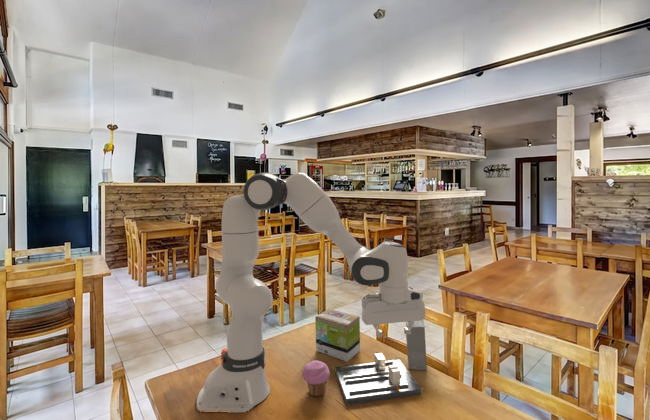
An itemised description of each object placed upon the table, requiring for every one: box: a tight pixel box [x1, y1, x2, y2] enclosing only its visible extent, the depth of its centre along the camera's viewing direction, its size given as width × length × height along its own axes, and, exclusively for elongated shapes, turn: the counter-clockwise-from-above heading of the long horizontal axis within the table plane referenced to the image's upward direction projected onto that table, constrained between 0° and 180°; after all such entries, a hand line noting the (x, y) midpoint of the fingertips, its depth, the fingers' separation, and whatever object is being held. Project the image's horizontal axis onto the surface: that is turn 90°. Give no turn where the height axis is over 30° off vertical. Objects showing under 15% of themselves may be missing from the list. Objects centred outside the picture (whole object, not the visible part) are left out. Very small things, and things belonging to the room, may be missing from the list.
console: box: [334, 352, 422, 406], centre depth 114 cm, size 24×18×7 cm
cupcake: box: [302, 359, 331, 397], centre depth 109 cm, size 9×9×10 cm
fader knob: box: [388, 365, 400, 385], centre depth 110 cm, size 2×4×5 cm, turn 9°
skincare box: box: [405, 319, 428, 371], centre depth 124 cm, size 8×7×16 cm
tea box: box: [314, 308, 361, 363], centre depth 135 cm, size 15×10×15 cm, turn 55°
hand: (393, 335), depth 109 cm, fingers open, 8 cm apart
